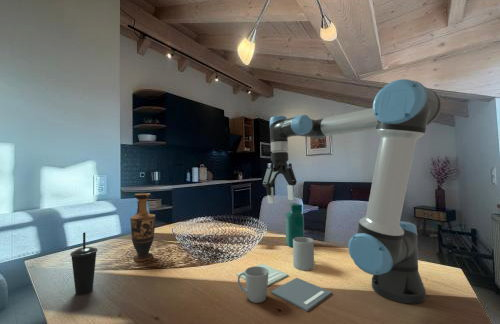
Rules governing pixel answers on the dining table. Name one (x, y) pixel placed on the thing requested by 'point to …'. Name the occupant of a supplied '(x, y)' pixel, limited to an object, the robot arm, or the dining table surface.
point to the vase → (142, 229)
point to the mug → (303, 253)
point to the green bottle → (294, 223)
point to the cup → (255, 283)
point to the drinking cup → (83, 268)
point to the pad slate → (301, 293)
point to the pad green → (270, 274)
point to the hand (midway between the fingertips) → (281, 201)
